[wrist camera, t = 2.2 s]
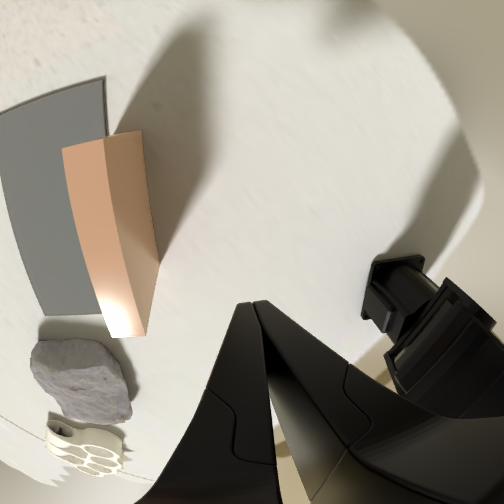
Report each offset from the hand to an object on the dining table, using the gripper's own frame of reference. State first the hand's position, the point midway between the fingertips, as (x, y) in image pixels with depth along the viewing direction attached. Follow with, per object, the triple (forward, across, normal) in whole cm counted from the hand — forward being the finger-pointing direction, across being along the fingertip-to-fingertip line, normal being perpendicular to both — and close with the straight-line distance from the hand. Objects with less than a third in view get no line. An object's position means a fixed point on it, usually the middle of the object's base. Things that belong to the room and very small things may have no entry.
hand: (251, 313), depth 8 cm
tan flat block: (+13, +6, 0) cm, 14 cm away
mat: (+13, +12, 0) cm, 18 cm away
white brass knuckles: (+14, +26, +37) cm, 47 cm away
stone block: (+14, +16, +18) cm, 28 cm away
